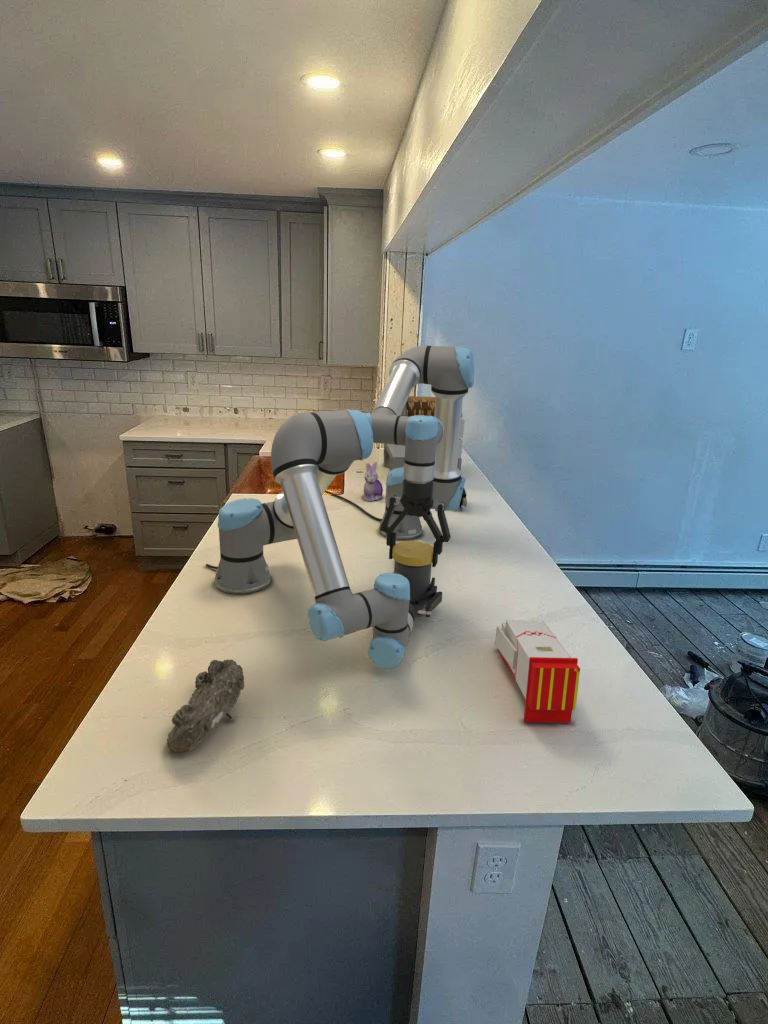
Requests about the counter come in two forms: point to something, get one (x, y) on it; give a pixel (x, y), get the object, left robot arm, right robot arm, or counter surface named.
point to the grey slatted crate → (413, 406)
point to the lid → (413, 553)
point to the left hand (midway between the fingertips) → (414, 579)
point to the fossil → (206, 705)
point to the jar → (415, 578)
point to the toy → (540, 670)
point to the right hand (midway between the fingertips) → (413, 561)
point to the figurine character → (463, 500)
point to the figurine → (372, 484)
